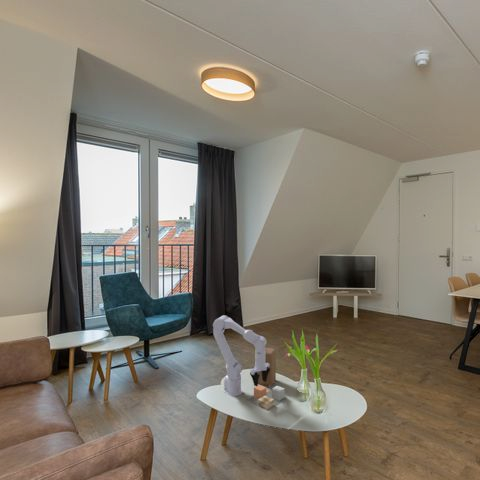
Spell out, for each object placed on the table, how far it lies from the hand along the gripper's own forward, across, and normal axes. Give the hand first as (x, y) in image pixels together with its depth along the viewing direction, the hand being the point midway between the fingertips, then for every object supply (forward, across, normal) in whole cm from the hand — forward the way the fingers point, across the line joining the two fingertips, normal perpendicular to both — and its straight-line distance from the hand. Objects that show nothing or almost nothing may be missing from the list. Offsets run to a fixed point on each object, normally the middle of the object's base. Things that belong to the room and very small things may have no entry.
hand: (260, 383), depth 180 cm
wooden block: (+8, +17, +9) cm, 21 cm away
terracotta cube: (+7, 0, 0) cm, 7 cm away
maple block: (+7, -5, -8) cm, 12 cm away
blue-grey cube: (+7, +6, -8) cm, 12 cm away
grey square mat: (+8, 0, -4) cm, 9 cm away
